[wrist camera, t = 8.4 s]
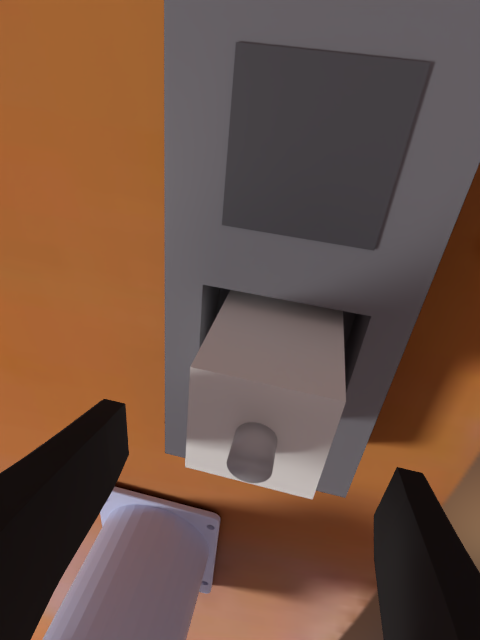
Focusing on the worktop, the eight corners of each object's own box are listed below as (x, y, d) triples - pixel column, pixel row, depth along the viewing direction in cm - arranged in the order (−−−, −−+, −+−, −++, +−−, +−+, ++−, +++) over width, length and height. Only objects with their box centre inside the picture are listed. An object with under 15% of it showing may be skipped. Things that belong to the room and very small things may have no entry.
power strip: (344, 443, 19) (345, 508, 16) (186, 406, 20) (160, 462, 17) (566, -185, 8) (690, -332, 5) (209, -196, 9) (152, -325, 6)
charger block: (319, 375, 17) (310, 531, 11) (229, 355, 17) (173, 494, 11) (342, 293, 15) (347, 432, 9) (238, 274, 15) (176, 392, 9)
